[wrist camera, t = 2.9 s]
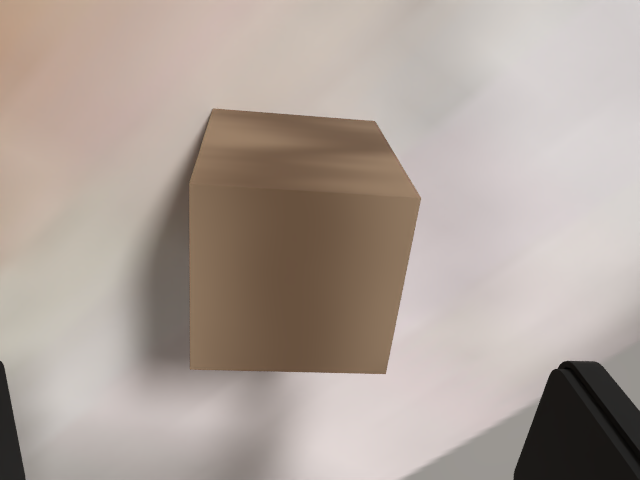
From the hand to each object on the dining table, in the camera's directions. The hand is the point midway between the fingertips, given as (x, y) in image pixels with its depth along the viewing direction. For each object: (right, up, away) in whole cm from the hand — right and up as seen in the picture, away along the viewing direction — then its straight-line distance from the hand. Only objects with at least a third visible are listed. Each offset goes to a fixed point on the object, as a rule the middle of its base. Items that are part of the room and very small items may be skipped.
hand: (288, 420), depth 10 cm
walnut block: (0, +5, +9) cm, 10 cm away
